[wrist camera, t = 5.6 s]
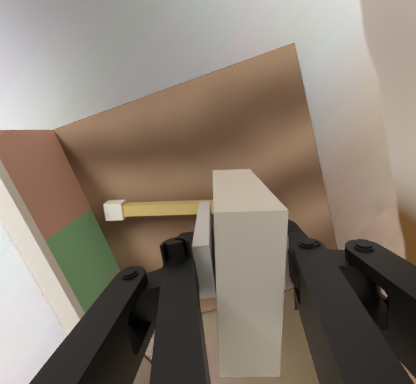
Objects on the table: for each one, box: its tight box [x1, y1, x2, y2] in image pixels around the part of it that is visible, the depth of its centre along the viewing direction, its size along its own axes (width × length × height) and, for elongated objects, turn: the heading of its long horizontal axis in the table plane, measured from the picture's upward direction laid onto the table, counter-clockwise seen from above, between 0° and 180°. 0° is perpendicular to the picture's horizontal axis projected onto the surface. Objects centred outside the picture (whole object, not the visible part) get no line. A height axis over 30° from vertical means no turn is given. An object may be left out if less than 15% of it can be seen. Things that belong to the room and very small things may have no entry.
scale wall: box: [0, 130, 121, 336], centre depth 18 cm, size 20×1×7 cm, turn 18°
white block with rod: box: [103, 169, 289, 378], centre depth 14 cm, size 11×7×12 cm, turn 92°
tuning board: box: [54, 43, 337, 313], centre depth 21 cm, size 20×21×1 cm
